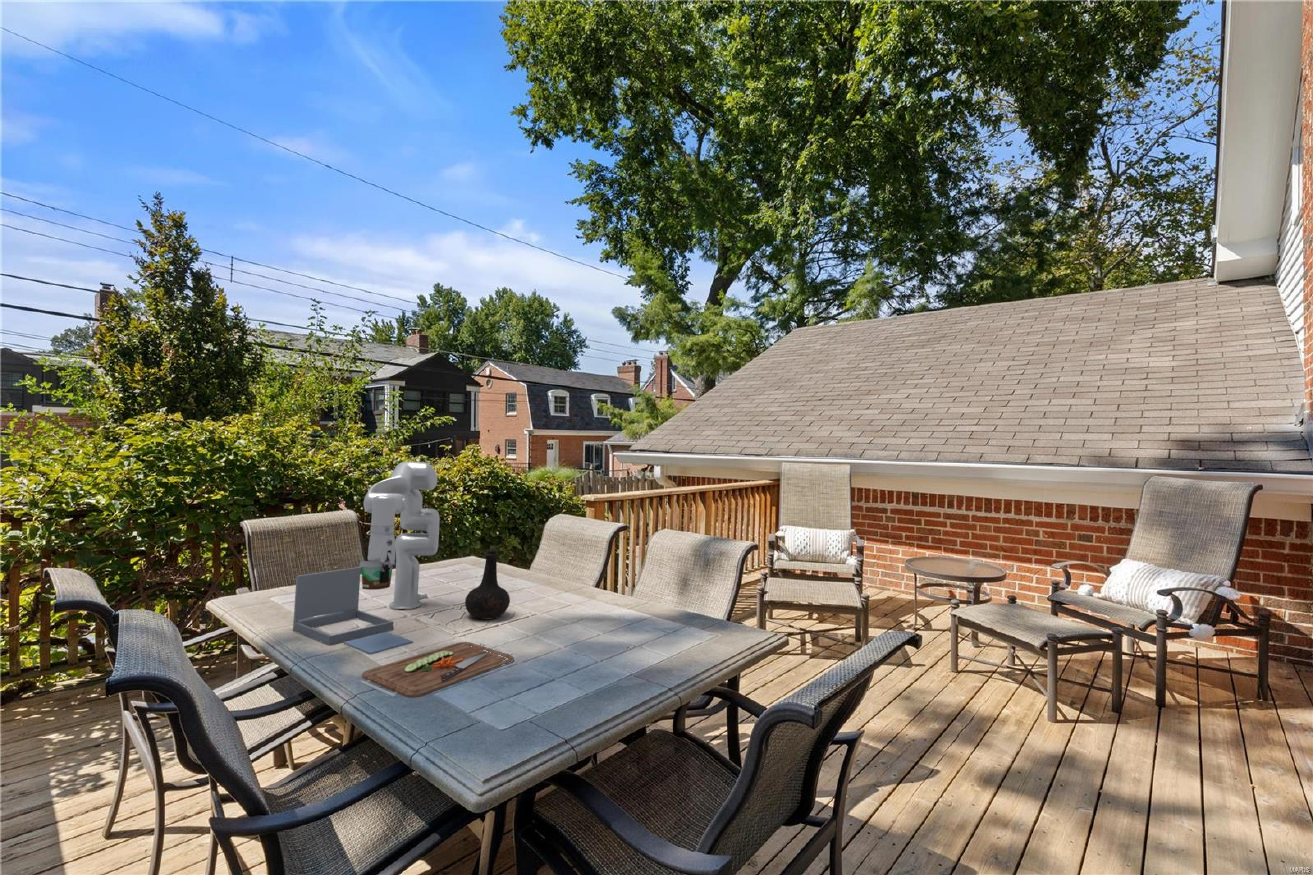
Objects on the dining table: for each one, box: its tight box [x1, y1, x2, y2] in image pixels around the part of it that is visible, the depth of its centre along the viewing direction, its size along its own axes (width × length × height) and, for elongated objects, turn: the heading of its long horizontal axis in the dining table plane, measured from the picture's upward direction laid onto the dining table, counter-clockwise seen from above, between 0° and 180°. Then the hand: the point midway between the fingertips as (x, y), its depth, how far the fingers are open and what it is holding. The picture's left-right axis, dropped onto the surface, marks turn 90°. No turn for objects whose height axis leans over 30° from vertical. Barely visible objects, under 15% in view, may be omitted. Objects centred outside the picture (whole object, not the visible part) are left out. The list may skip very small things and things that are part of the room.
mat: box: [343, 631, 414, 655], centre depth 206 cm, size 16×16×1 cm
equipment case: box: [292, 566, 395, 646], centre depth 218 cm, size 24×25×20 cm
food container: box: [358, 560, 396, 591], centre depth 207 cm, size 12×6×10 cm, turn 144°
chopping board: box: [360, 641, 515, 698], centre depth 187 cm, size 45×27×3 cm, turn 148°
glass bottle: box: [464, 548, 511, 619], centre depth 245 cm, size 18×18×28 cm
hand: (379, 580), depth 208 cm, fingers closed on food container, 5 cm apart
